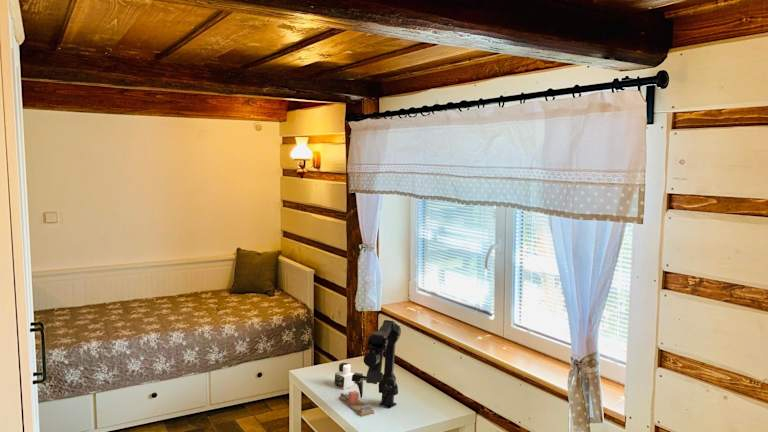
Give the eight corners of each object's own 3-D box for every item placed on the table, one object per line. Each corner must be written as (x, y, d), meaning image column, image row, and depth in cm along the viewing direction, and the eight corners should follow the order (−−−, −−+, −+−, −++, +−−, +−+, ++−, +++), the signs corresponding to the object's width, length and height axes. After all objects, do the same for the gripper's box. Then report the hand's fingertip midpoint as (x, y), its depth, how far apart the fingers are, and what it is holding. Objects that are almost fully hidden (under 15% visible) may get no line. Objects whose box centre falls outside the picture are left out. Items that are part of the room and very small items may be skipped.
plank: (339, 398, 277) (339, 391, 276) (351, 396, 280) (351, 389, 280) (361, 416, 258) (361, 409, 258) (374, 413, 262) (374, 406, 262)
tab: (341, 395, 278) (341, 386, 277) (348, 394, 280) (348, 385, 279) (351, 403, 269) (351, 394, 269) (358, 401, 271) (358, 393, 271)
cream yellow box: (334, 385, 292) (335, 363, 291) (344, 382, 297) (345, 360, 296) (343, 390, 287) (344, 367, 286) (353, 386, 293) (354, 364, 291)
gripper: (351, 363, 237) (347, 401, 236) (394, 369, 234) (391, 407, 233) (355, 359, 248) (352, 395, 247) (397, 364, 246) (393, 400, 244)
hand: (371, 399), depth 242 cm, fingers open, 9 cm apart
